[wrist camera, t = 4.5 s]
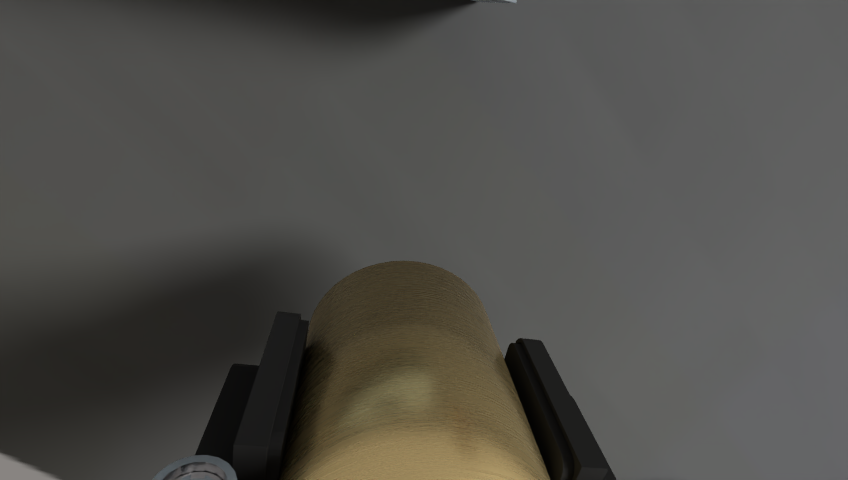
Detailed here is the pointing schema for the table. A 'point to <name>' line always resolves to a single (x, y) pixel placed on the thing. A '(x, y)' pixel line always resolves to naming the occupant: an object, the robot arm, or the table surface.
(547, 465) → the robot arm
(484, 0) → the plate
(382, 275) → the bushing
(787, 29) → the table surface
